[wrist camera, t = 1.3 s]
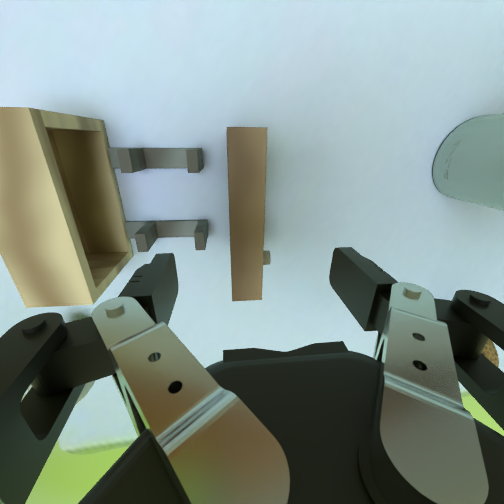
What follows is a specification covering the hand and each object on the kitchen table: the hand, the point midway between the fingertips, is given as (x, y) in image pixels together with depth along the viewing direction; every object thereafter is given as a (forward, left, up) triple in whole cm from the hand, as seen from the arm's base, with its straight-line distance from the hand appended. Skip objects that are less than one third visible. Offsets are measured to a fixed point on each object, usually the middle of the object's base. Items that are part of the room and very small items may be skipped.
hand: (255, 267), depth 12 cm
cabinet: (+11, 0, -18) cm, 21 cm away
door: (0, 0, -18) cm, 18 cm away
